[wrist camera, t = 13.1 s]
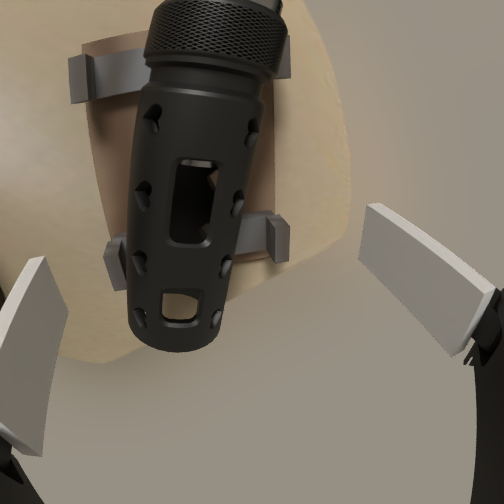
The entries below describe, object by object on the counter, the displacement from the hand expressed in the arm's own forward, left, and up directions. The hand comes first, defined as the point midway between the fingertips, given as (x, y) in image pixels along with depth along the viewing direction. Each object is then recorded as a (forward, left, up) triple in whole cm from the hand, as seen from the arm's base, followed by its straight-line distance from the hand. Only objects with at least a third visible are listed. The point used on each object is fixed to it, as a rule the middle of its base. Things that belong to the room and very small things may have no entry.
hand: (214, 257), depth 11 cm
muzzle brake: (0, 0, -18) cm, 18 cm away
